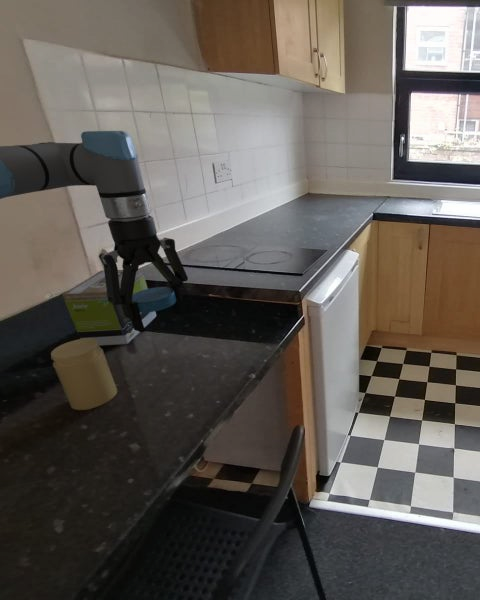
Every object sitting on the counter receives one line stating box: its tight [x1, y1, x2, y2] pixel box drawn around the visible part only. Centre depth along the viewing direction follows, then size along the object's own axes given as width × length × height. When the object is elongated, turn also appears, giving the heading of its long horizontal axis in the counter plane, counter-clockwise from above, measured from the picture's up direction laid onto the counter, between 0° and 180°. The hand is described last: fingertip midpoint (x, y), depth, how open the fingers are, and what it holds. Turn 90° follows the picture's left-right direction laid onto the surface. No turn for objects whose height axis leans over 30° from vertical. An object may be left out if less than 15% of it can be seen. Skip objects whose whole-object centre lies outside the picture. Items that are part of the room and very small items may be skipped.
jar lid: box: [132, 286, 176, 312], centre depth 85 cm, size 8×8×2 cm
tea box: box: [62, 268, 157, 346], centre depth 96 cm, size 15×10×15 cm
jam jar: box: [50, 338, 118, 411], centre depth 74 cm, size 7×7×11 cm
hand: (160, 321), depth 87 cm, fingers closed on jar lid, 8 cm apart
